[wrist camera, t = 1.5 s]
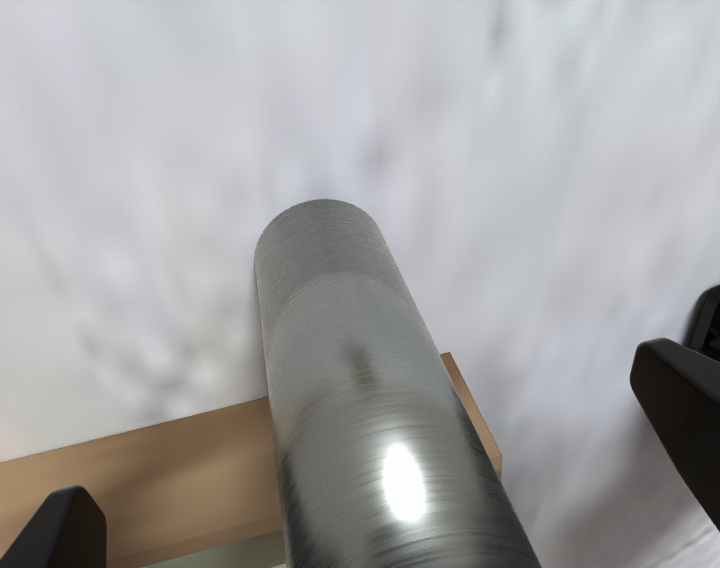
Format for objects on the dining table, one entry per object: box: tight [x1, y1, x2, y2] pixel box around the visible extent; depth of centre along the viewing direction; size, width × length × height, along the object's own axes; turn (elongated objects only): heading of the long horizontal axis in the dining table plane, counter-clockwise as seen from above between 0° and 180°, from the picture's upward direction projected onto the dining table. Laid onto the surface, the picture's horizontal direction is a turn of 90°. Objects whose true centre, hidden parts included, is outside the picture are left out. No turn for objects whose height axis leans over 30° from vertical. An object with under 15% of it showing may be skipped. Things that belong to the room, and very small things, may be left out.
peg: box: [255, 199, 542, 568], centre depth 9 cm, size 3×3×8 cm
